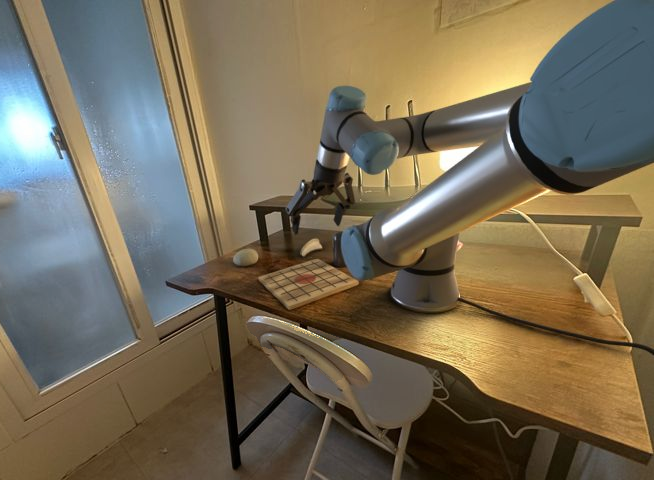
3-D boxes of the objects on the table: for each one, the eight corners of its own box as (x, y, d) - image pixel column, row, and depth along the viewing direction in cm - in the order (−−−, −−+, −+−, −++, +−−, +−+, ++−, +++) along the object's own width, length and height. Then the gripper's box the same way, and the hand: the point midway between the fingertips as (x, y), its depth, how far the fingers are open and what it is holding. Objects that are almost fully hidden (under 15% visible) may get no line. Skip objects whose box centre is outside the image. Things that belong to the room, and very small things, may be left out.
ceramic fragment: (317, 243, 119) (317, 233, 118) (329, 244, 116) (328, 234, 115) (298, 256, 110) (297, 247, 108) (311, 258, 107) (310, 248, 105)
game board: (358, 284, 85) (358, 280, 84) (289, 310, 78) (288, 306, 77) (317, 261, 103) (317, 258, 103) (258, 280, 96) (258, 276, 96)
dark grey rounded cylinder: (353, 263, 98) (352, 231, 93) (340, 268, 96) (338, 235, 91) (343, 259, 102) (342, 227, 97) (330, 263, 100) (328, 231, 96)
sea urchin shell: (226, 260, 110) (236, 241, 111) (241, 269, 116) (250, 250, 117) (241, 265, 104) (251, 245, 105) (256, 274, 109) (265, 254, 110)
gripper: (368, 147, 77) (347, 211, 94) (277, 159, 71) (272, 226, 88) (384, 163, 73) (358, 227, 90) (289, 177, 67) (280, 244, 84)
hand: (316, 227), depth 89 cm, fingers open, 13 cm apart
